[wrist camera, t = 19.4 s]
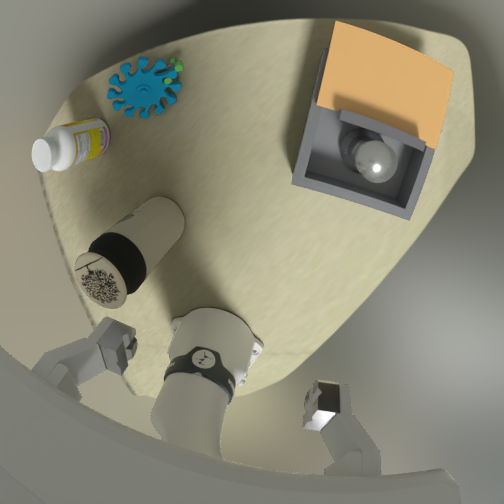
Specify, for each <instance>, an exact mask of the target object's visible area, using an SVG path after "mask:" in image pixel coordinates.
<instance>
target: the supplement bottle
mask: <svg viewBox="0 0 504 504" xmlns="http://www.w3.org/2000/svg"><path fill="white" fill-rule="evenodd" d="M109 140H110V133H109V129H108V127H107V125H106V124H105V123H104V122H103V121H102V120H100V119H97V118H93V119H87V120H82V121H78V122H74V123H69V124H65V125H61V126H57V127H54V128H52V129H51V130H50V131H49V132H48V133H47V135H46V137H42V138H39V139H37V140H36V141H35V143H34V145H33V148H32V160H33V163H34V165H35V167H36V168H37V169H38V170H39V171H41V172H45V171H47V170H50V169H53V170H55V171H63V170H66V169H68V168H70V167H73V166H75V165H77V164H80V163H82V162H85V161H87V160H90V159H92V158H95V157H97V156H100V155H101V154H103V153H104V152H105V151H106V149H107V147H108V144H109Z"/></svg>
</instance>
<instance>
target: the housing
mask: <svg viewBox="0 0 504 504" xmlns="http://www.w3.org/2000/svg"><path fill="white" fill-rule="evenodd" d="M328 52H329V49H325V48H324V51H323V53H322V56H321V60H320V64H319V68H318V73H317V77H316V81H315V86H314V90H313V94H312V98H311V102H310V107H309V111H308V115H307V119H306V123H305V127H304V131H303V135H302V139H301V143H300V147H299V151H298V155H297V159H296V163H295V167H294V171H293V175H292V183H291V184H293V185H296V186H300V187H304V188H308V189H311V190H315V191H318V192H322V193H325V194H329V195H332V196H336V197H339V198H342V199H346V200H349V201H352V202H355V203H358V204H362V205H365V206H368V207H371V208H374V209H377V210H380V211H383V212H386V213H389V214H392V215H395V216H398V217H400V218H403V219H406V220H409V221H410V218H411V216H412V213H413V211H414V208H415V206H416V203H417V201H418V198H419V196H420V193H421V190H422V187H423V185H424V182H425V179H426V176H427V173H428V170H429V167H430V164H431V161H432V158H433V155H434V152H435V149H432V148H430V147H428V146H426V145H425V148H424V151H421V150H418V149H416V148H414V147H411V146H409V145H407V144H404V143H402V142H400V141H397V140H395V139H392V138H390V137H387V136H384V135H382V134H379V133H377V132H375V133H377V134H378V135H379V136H380V137H381V138H382V139H383V141H384V143H385V144H387V145H389V146H390V147H391V148H392V149H393V150H394V152H395V154H396V156H397V169H396V172H395V173H394V175H393V176H392V177H391V178H390V179H389V180H387V181H385V182H382V183H374V182H371V181H369V180H367V179H366V178H365V177H364V176H363V175H361V174H357V173H355V172H353V171H351V170H350V169H349V168H348V167H347V166H346V164H345V163H344V161H343V160H342V157H341V153H340V146H341V142H342V140H343V138H344V136H345V135H346V134H347V133H348V132H350V131H351V130H354V129H357V128H363V127H360V126H357V125H354V124H351V123H348V122H345V121H341V120H338V119H337V117H338V113H339V112H338V111H335V110H331V109H328V108H324V107H321V106H317V105H316V103H317V99H318V95H319V91H320V86H321V82H322V78H323V74H324V69H325V65H326V61H327V56H328ZM365 129H366V128H365Z"/></svg>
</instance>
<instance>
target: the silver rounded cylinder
mask: <svg viewBox="0 0 504 504" xmlns="http://www.w3.org/2000/svg"><path fill="white" fill-rule="evenodd" d="M340 153H341V157H342V160H343V161H344V163H345V164H346V166H347V167H348V168H349V169H350V170H351V171H353V172H355V173H357V174H361V175H363V176H364V177H365V178H366V179H367V180H369V181H371V182H374V183H382V182H385V181H387V180H389V179H390V178H391V177H392V176H393V175H394V173H395V172H396V169H397V156H396V154H395V152H394V150H393V149H392V148H391V147H390V146H389V145H387V144H385V143H384V141H383V139H382V138H381V137H380V136H379V135H378V134H377V133H375V132H374V131H371V130H368V129H365V128H357V129H354V130H351V131H350V132H348V133H347V134H346V135H345V136H344V138H343V140H342V142H341V146H340Z"/></svg>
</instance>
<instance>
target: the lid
mask: <svg viewBox="0 0 504 504" xmlns="http://www.w3.org/2000/svg"><path fill="white" fill-rule="evenodd" d="M453 76H454V71H453V70H451V69H450V68H448V67H446V66H444V65H443V64H441V63H439V62H437V61H435V60H434V59H432V58H430V57H428V56H426V55H424V54H422V53H420V52H418V51H416V50H414V49H411V48H409V47H407V46H405V45H403V44H400V43H398V42H396V41H393V40H391V39H388V38H386V37H383V36H381V35H378V34H376V33H373V32H370V31H367V30H364V29H362V28H359V27H355V26H352V25H349V24H346V23H343V22H339V21H335V25H334V29H333V34H332V38H331V43H330V47H329V52H328V56H327V61H326V65H325V69H324V74H323V78H322V82H321V86H320V91H319V95H318V99H317V103H316V105H317V106H321V107H324V108H328V109H331V110H335V111H338V112H339V113H338V117H337V119H338V120H341V121H345V122H348V123H351V124H354V125H357V126H360V127H363V128H366V129H368V130H371V131H374V132H377V133H379V134H382V135H384V136H387V137H390V138H392V139H395V140H397V141H400V142H402V143H404V144H407V145H409V146H411V147H414V148H416V149H418V150H421V151H424V148H425V145H426V146H428V147H430V148H432V149H435V150H436V147H437V144H438V140H439V137H440V133H441V129H442V126H443V122H444V118H445V114H446V110H447V105H448V101H449V96H450V91H451V86H452V81H453Z"/></svg>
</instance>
